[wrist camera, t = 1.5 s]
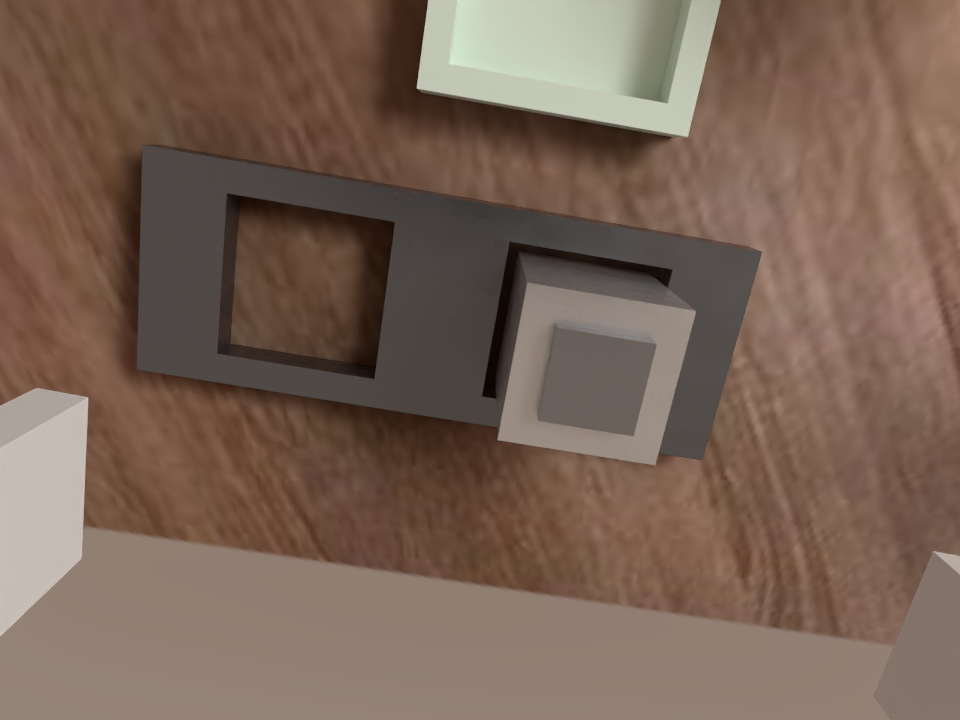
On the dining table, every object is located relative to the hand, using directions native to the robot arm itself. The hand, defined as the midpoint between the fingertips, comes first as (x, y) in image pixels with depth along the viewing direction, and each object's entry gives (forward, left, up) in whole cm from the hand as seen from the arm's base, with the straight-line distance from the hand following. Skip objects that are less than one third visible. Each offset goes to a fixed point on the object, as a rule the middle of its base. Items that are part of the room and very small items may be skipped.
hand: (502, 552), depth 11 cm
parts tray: (-8, +10, -19) cm, 23 cm away
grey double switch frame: (-1, -2, -19) cm, 20 cm away
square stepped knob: (+3, +2, -20) cm, 20 cm away
